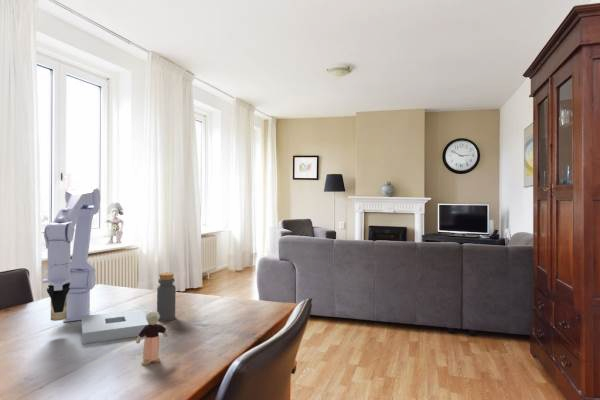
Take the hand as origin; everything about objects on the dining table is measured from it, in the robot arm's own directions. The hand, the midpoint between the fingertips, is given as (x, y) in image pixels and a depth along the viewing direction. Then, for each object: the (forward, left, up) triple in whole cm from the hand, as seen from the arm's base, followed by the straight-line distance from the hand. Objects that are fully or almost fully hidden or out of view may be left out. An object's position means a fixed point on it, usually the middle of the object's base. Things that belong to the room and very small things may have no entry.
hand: (58, 310), depth 119 cm
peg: (0, 0, -3) cm, 2 cm away
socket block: (+2, +15, -7) cm, 17 cm away
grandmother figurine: (+32, +21, -8) cm, 39 cm away
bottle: (-3, +31, -8) cm, 32 cm away
